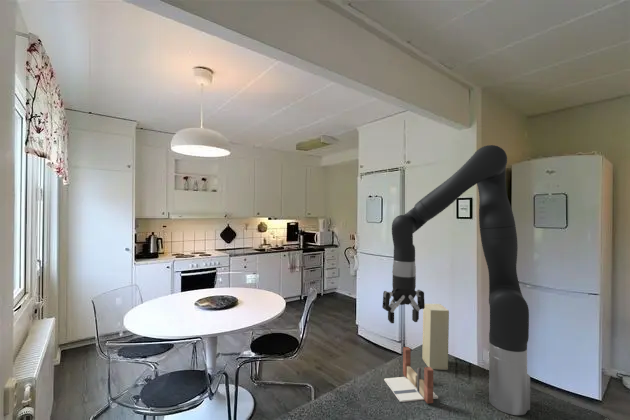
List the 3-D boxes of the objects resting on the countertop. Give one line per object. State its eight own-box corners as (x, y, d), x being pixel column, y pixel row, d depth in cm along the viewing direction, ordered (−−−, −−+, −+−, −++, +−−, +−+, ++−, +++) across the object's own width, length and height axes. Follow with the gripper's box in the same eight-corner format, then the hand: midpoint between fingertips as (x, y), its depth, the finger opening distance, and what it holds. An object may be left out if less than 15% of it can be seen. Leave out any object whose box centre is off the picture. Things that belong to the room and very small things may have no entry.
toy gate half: (419, 386, 94) (419, 357, 94) (414, 387, 94) (414, 358, 94) (407, 373, 101) (408, 346, 102) (402, 374, 101) (403, 347, 101)
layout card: (417, 376, 101) (417, 375, 101) (438, 398, 89) (438, 396, 89) (384, 379, 99) (384, 378, 99) (400, 402, 87) (400, 400, 87)
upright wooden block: (450, 370, 106) (451, 310, 106) (429, 369, 106) (430, 309, 106) (441, 359, 114) (442, 303, 114) (422, 358, 114) (422, 303, 114)
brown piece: (420, 390, 93) (420, 358, 93) (433, 404, 86) (433, 370, 86) (415, 391, 93) (415, 359, 93) (427, 405, 86) (427, 370, 86)
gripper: (389, 276, 96) (388, 327, 96) (429, 275, 99) (428, 324, 99) (379, 272, 104) (379, 319, 104) (417, 271, 107) (416, 317, 106)
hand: (403, 322), depth 101 cm, fingers open, 8 cm apart
